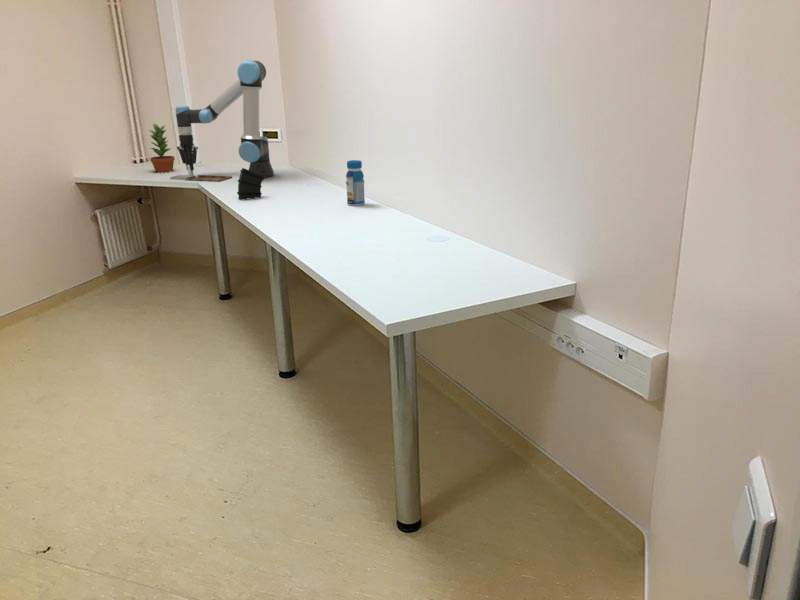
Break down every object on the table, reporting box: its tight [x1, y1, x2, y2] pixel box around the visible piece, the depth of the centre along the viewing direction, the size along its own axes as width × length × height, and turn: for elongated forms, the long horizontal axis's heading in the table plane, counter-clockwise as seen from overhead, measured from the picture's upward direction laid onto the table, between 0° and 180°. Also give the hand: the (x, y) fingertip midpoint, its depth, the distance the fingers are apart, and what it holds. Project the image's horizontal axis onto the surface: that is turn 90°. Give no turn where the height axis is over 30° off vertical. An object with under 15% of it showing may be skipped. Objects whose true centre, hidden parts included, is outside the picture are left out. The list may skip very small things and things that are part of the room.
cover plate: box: [169, 174, 197, 181], centre depth 364 cm, size 11×9×2 cm
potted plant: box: [148, 123, 175, 173], centre depth 390 cm, size 15×15×30 cm
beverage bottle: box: [345, 159, 366, 207], centre depth 287 cm, size 8×8×20 cm
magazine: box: [237, 167, 265, 200], centre depth 308 cm, size 4×13×15 cm, turn 124°
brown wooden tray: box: [184, 174, 233, 183], centre depth 359 cm, size 23×13×2 cm, turn 71°
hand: (191, 175), depth 362 cm, fingers closed
